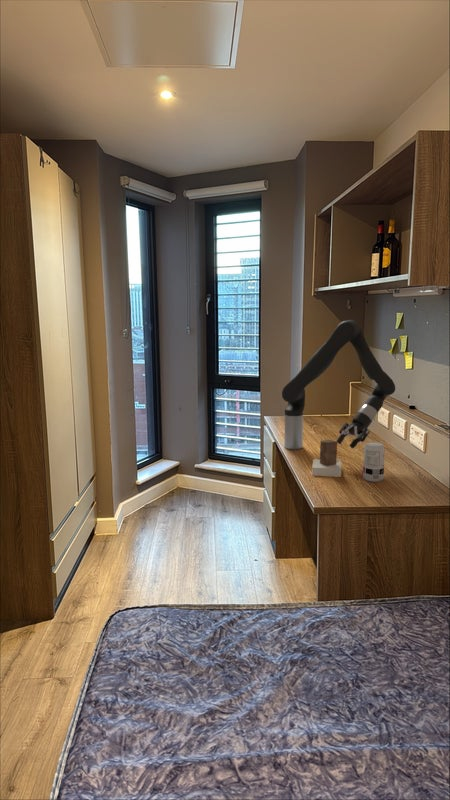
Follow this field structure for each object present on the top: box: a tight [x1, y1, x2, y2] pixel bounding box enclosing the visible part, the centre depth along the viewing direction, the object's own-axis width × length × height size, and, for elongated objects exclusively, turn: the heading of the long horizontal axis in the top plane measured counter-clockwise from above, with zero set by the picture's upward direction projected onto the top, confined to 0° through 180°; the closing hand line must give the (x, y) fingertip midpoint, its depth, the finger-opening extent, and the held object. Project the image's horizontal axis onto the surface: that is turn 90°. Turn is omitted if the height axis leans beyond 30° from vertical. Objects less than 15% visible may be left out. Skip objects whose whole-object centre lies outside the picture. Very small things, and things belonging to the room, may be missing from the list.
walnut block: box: [319, 439, 338, 466], centre depth 218 cm, size 5×5×10 cm
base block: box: [311, 458, 342, 478], centre depth 219 cm, size 12×12×4 cm
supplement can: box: [362, 441, 386, 483], centre depth 207 cm, size 8×8×15 cm
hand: (344, 445), depth 222 cm, fingers open, 8 cm apart
